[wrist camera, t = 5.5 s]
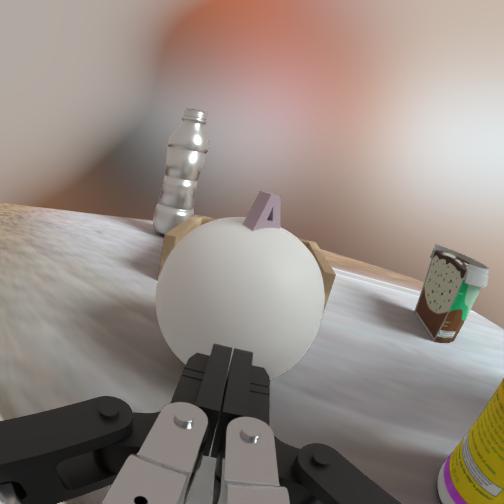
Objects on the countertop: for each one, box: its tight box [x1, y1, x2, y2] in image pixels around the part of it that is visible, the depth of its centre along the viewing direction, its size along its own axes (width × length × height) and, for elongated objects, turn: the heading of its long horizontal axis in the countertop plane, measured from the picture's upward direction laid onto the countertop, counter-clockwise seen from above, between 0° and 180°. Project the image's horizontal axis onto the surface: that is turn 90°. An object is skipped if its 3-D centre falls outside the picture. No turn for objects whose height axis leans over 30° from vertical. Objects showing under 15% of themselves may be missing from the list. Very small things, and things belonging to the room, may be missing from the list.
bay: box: [158, 215, 336, 312], centre depth 38 cm, size 17×14×5 cm
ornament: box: [156, 191, 325, 380], centre depth 20 cm, size 10×10×12 cm
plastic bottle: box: [153, 109, 209, 235], centre depth 47 cm, size 6×7×20 cm
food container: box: [414, 245, 489, 343], centre depth 35 cm, size 12×6×10 cm, turn 168°
